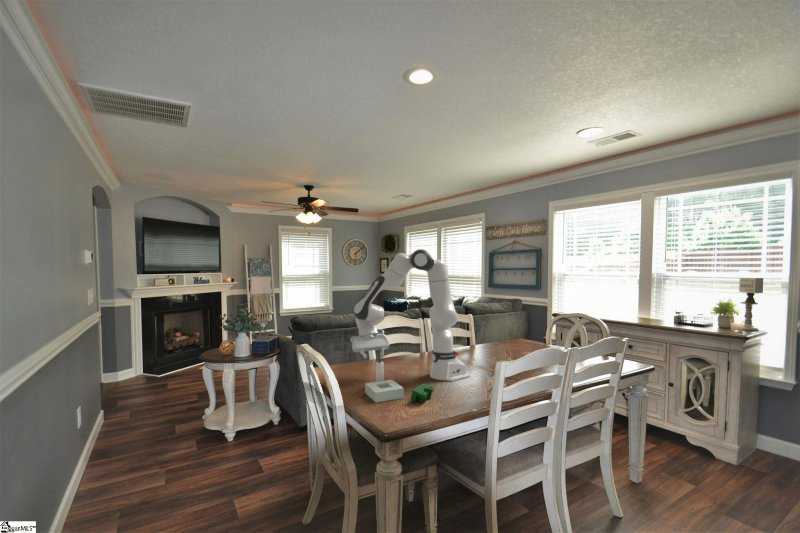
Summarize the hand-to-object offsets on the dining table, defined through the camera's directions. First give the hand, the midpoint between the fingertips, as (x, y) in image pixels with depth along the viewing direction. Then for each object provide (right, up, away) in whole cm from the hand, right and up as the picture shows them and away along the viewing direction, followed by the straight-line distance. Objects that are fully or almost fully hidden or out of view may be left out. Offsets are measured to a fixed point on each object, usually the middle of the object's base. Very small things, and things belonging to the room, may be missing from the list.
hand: (374, 356), depth 198 cm
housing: (+6, -13, -20) cm, 25 cm away
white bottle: (+3, -13, -7) cm, 15 cm away
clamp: (+24, -14, -26) cm, 38 cm away
